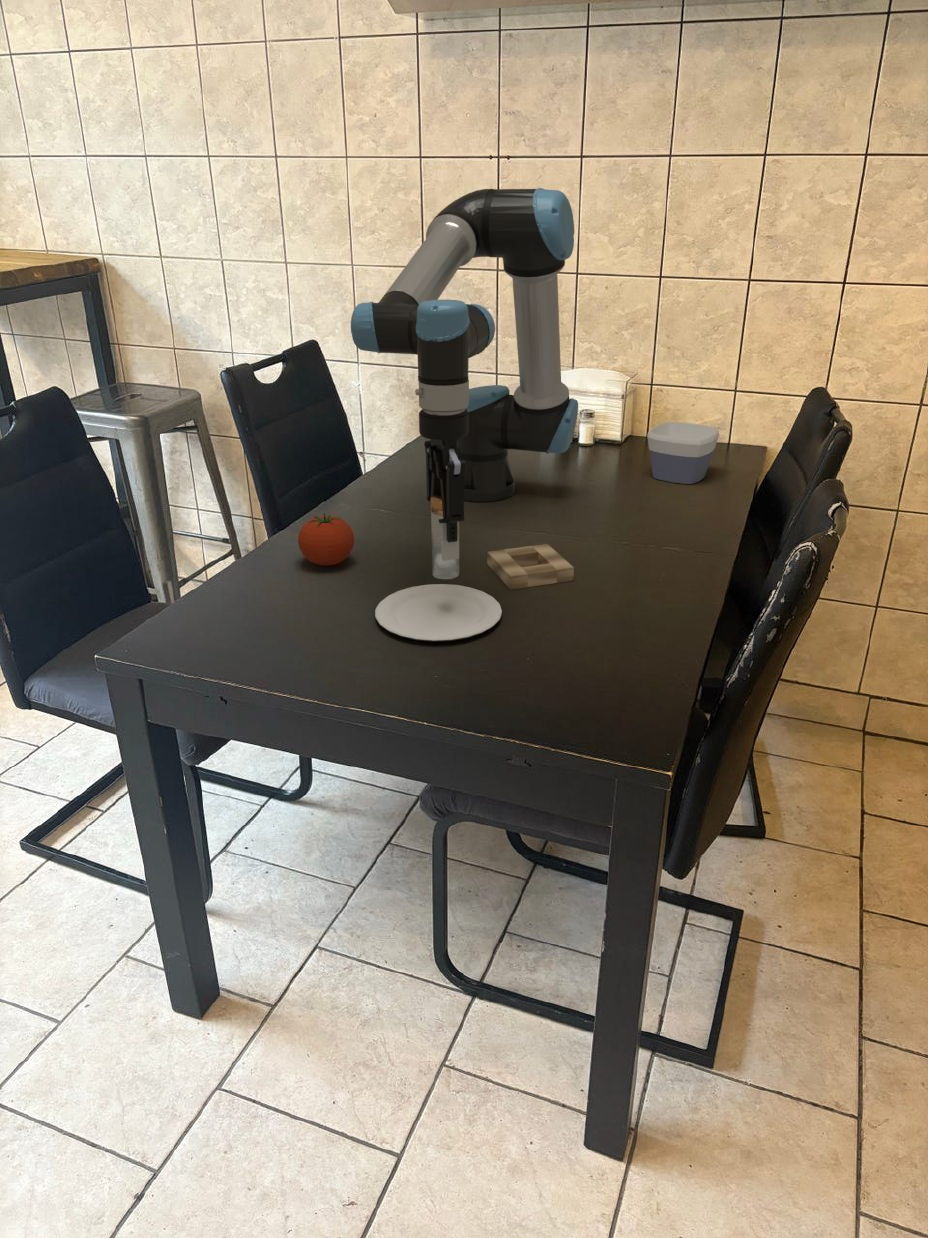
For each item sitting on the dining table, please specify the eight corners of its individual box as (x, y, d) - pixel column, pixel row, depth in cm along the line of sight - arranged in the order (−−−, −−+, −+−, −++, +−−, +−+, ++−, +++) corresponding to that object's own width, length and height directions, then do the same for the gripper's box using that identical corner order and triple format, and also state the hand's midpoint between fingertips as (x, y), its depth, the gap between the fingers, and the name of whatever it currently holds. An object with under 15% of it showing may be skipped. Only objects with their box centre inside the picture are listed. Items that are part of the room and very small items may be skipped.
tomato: (333, 549, 176) (329, 499, 172) (366, 563, 170) (363, 512, 165) (289, 563, 170) (284, 512, 166) (322, 579, 163) (318, 527, 159)
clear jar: (428, 570, 150) (427, 495, 145) (454, 566, 152) (454, 492, 146) (436, 580, 146) (435, 504, 141) (463, 577, 148) (462, 500, 142)
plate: (457, 661, 137) (457, 651, 136) (349, 627, 147) (348, 618, 146) (524, 609, 153) (524, 600, 152) (422, 582, 163) (422, 573, 162)
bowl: (721, 473, 218) (726, 427, 213) (699, 490, 207) (704, 442, 202) (660, 463, 226) (664, 418, 221) (635, 479, 214) (639, 433, 209)
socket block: (487, 564, 169) (487, 551, 168) (546, 556, 173) (547, 543, 172) (510, 589, 159) (510, 576, 158) (573, 580, 163) (573, 567, 161)
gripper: (404, 398, 143) (408, 537, 154) (436, 425, 129) (439, 576, 139) (449, 395, 146) (451, 532, 156) (486, 420, 131) (485, 570, 141)
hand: (445, 552), depth 147 cm, fingers closed on clear jar, 4 cm apart
